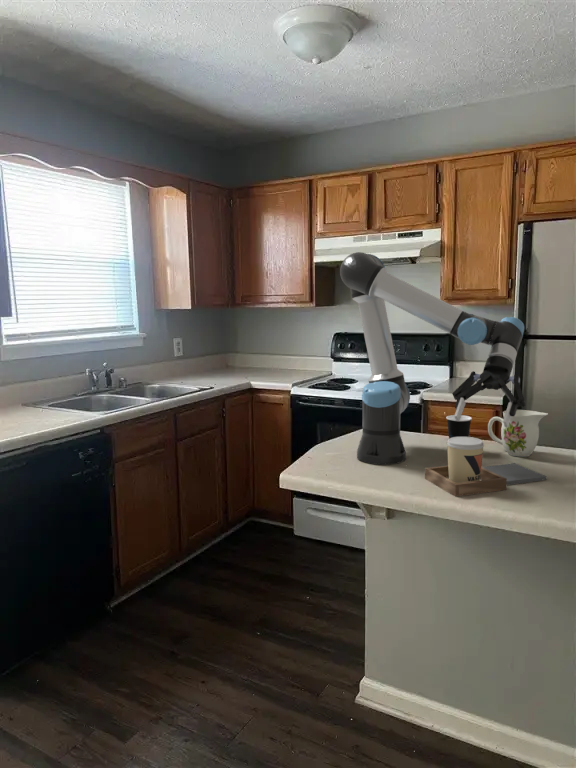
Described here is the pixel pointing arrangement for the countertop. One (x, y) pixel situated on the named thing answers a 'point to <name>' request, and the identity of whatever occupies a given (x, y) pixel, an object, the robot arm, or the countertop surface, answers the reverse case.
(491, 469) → the rubber mat
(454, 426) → the dixie cup
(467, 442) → the coffee cup
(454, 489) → the cup holder
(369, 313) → the robot arm
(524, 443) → the pitcher
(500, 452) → the countertop surface
